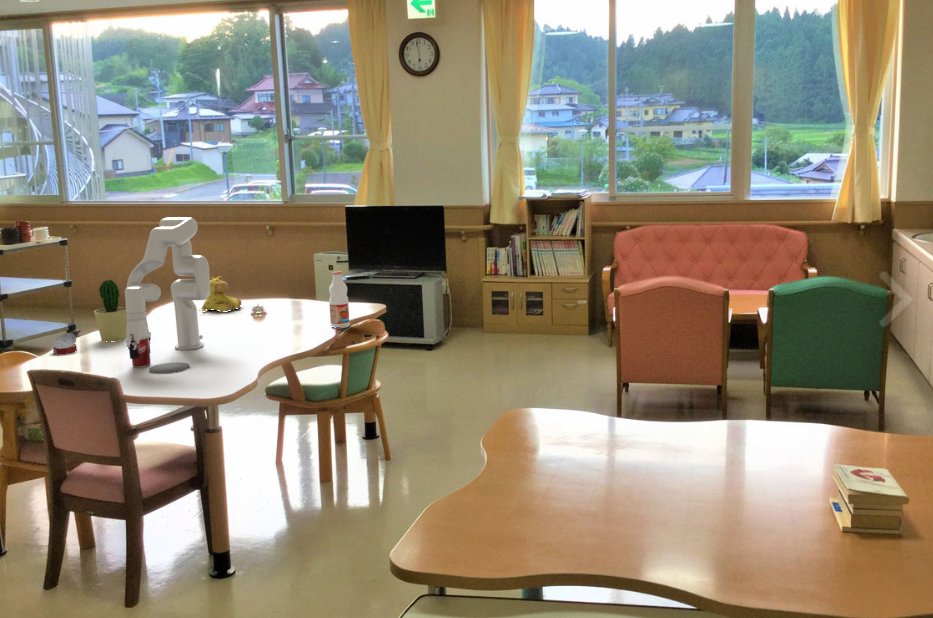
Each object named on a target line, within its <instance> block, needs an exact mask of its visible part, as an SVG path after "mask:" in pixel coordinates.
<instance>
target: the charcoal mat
mask: <svg viewBox="0 0 933 618" xmlns="http://www.w3.org/2000/svg"><path fill="white" fill-rule="evenodd" d="M187 368H188V369H190V363H188V362H181V361H180V362H179V361H177V362H175V361H174V362H172V361H171V362H164V363H159V364H155V365H152V366H149V368H148V372H149V371H150V372H149V373H151V372H153V373H152V374H156V373H165V374H174V373H173V372H175V373H180V372H183V370H184V371H186V370H188V369H187ZM185 369H186V370H185ZM179 371H180V372H179Z"/></svg>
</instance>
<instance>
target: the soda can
mask: <svg viewBox="0 0 933 618" xmlns="http://www.w3.org/2000/svg"><path fill="white" fill-rule="evenodd" d="M132 342H135V341H132ZM133 346H134V345H133ZM136 349H137V355H138V359H131V364H132V367H133V368H136V367H141V368H146V367H145V366H147V367H149V366H151V362H152V361H151V349H150V350H149V340H148V338H147V337H146V338H144V339H141V340H140V343H139V344H137V347H136ZM148 365H149V366H148Z"/></svg>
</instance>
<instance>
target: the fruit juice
mask: <svg viewBox="0 0 933 618" xmlns="http://www.w3.org/2000/svg"><path fill="white" fill-rule="evenodd" d="M331 274H332V281H331V284H330V285H329V286H328V293H329V295H330V296H329V300H328V301H329V318H330V319H329V321H330V322H329V323H330V327H331V326H334V327H337V326H338V327H341V328H340V329H346V328H349V327H350V323H351V322H350V310H349V309H350V308H349V297H348V295H347V294H348V286H347V284H346V283H345V282H344V279H343V271H342V270H336V271H335V270H334V271H332V273H331Z"/></svg>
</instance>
